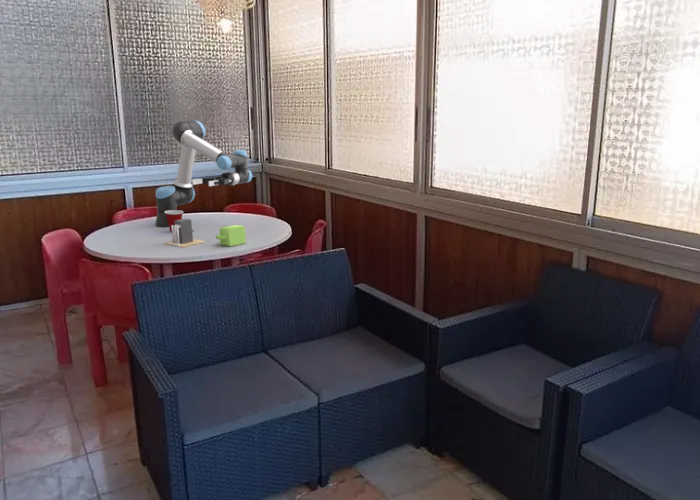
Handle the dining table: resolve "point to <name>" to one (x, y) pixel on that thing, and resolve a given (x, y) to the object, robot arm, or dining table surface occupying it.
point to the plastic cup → (173, 217)
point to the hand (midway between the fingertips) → (200, 183)
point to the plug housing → (184, 230)
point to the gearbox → (232, 235)
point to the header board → (179, 241)
